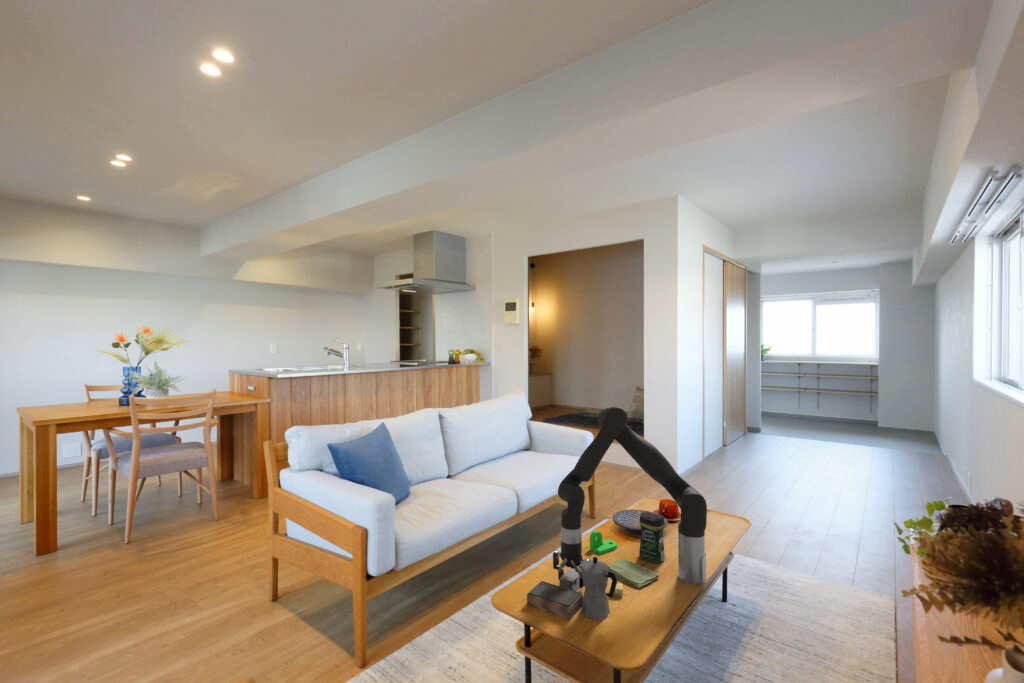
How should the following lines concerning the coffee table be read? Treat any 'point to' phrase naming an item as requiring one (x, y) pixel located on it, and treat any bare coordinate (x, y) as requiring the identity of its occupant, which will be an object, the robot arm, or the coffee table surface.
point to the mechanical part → (601, 544)
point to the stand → (555, 600)
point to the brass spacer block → (618, 590)
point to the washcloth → (632, 573)
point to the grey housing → (570, 580)
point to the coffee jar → (652, 537)
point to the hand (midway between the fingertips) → (571, 584)
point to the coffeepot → (596, 588)
